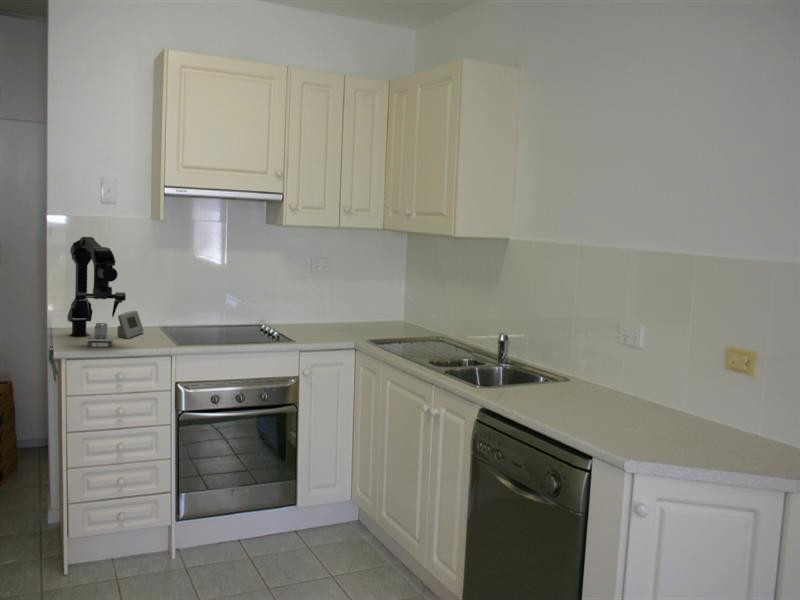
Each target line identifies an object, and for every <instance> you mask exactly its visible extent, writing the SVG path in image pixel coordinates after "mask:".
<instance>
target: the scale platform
mask: <svg viewBox="0 0 800 600" xmlns="http://www.w3.org/2000/svg"><path fill="white" fill-rule="evenodd" d="M94 335H95V334H89V336H88V338H87V342H88V341H112V338H113V337H114V336H113V334H107V336H106V339H95V338H94Z"/></svg>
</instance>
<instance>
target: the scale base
mask: <svg viewBox="0 0 800 600" xmlns="http://www.w3.org/2000/svg"><path fill="white" fill-rule="evenodd" d="M113 340H114V339H113V338H112V341H88V340H87V348H112V347H113Z"/></svg>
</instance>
